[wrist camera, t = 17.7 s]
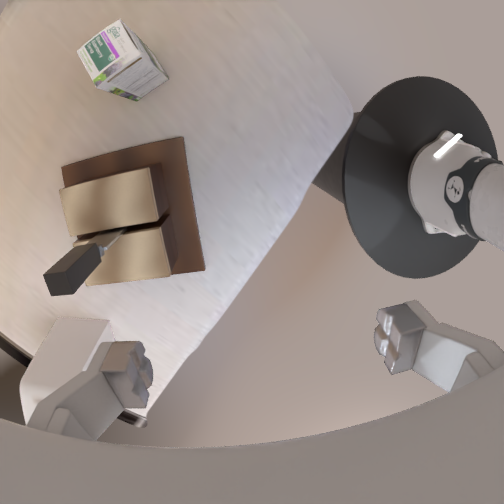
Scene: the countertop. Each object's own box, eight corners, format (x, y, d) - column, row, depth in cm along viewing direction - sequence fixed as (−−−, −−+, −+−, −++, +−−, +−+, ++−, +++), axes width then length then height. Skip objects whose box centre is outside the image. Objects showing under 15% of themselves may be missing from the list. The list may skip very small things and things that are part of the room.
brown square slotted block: (183, 136, 38) (172, 137, 31) (205, 267, 46) (200, 294, 38) (64, 166, 38) (35, 174, 30) (94, 281, 45) (74, 305, 38)
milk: (76, 360, 52) (31, 455, 28) (58, 316, 48) (-5, 412, 24) (124, 365, 53) (90, 473, 29) (109, 320, 48) (55, 434, 24)
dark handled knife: (125, 219, 35) (70, 270, 21) (129, 236, 36) (78, 294, 22) (98, 224, 35) (38, 275, 21) (103, 240, 36) (46, 296, 22)
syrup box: (119, 73, 33) (71, 52, 20) (153, 50, 33) (118, 16, 19) (136, 102, 35) (93, 90, 22) (171, 78, 35) (142, 53, 21)
